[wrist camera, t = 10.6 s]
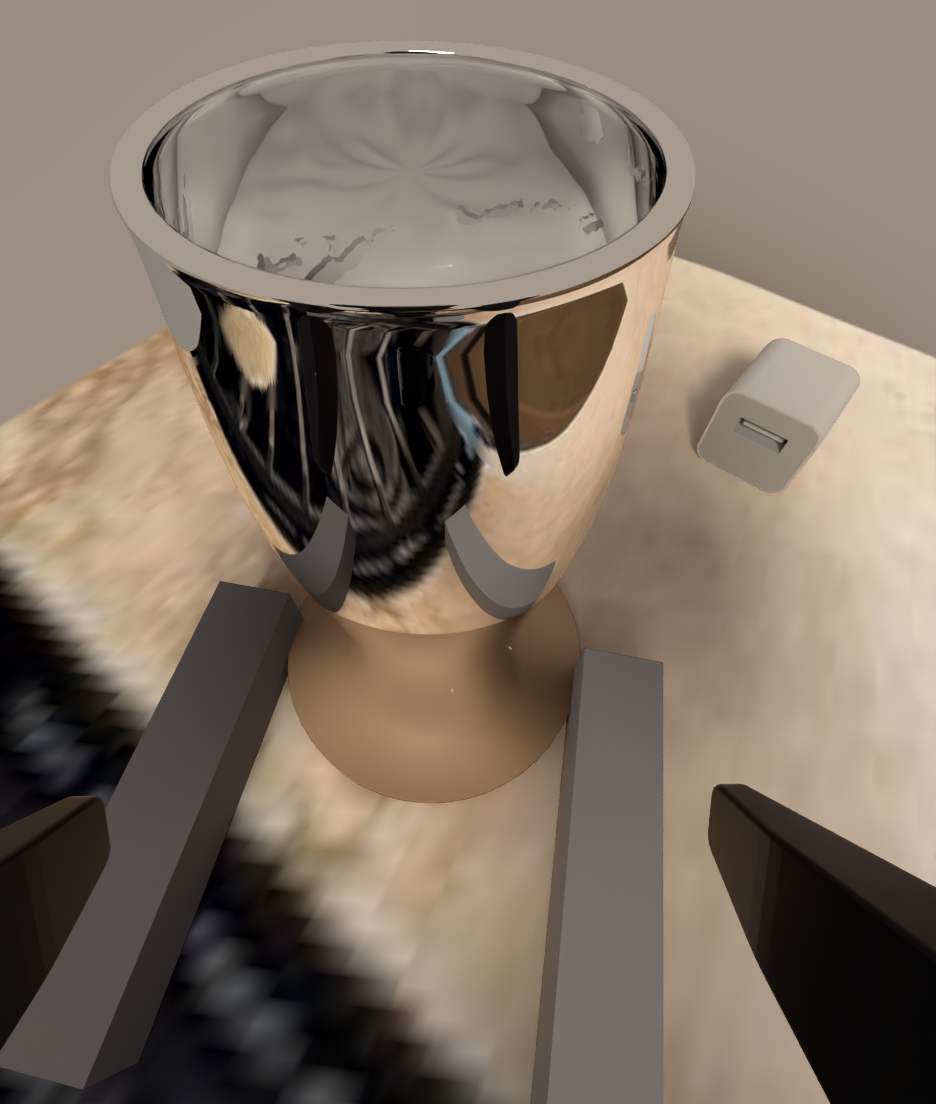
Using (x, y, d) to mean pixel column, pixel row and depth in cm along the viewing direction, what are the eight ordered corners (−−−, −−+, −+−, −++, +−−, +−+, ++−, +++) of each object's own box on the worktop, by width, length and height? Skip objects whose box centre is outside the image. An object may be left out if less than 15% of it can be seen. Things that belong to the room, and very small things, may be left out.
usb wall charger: (692, 455, 25) (728, 384, 22) (755, 377, 28) (796, 305, 25) (776, 500, 24) (829, 432, 20) (834, 414, 27) (888, 343, 23)
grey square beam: (629, 1193, 13) (662, 1248, 11) (524, 1165, 13) (538, 1213, 11) (640, 688, 19) (663, 662, 17) (570, 675, 19) (584, 648, 17)
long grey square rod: (138, 1062, 14) (82, 1089, 12) (48, 1038, 14) (-21, 1061, 12) (306, 625, 20) (289, 593, 18) (243, 613, 20) (219, 581, 18)
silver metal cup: (293, 673, 18) (-59, 163, 6) (419, 531, 22) (367, 3, 9) (467, 800, 16) (507, 444, 4) (577, 624, 20) (798, 111, 7)
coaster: (563, 834, 16) (566, 832, 16) (245, 766, 17) (239, 762, 17) (587, 556, 22) (590, 548, 21) (343, 515, 23) (341, 506, 22)
